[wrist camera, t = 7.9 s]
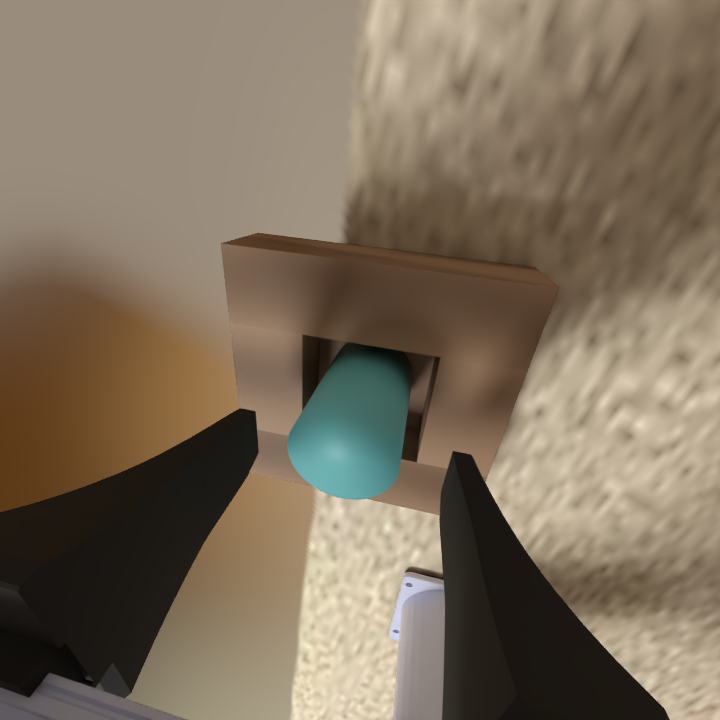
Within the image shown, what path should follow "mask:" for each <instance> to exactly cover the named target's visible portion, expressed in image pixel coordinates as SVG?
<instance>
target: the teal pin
mask: <svg viewBox="0 0 720 720" xmlns="http://www.w3.org/2000/svg"><path fill="white" fill-rule="evenodd" d="M412 378H413V371H412V366H411V363H410V361H409V359H408V357H407V356H406V354H405V353H404V352H403V351H399V350H393V349H387V348H381V347H375V346H369V345H363V344H357V343H351V342H348V343H347V344H345V345H344V346H343V347H342V348H341V349H340V351H339V352H338V354H337V355H336V357H335V359H334V360H333V362H332V364H331V365H330V367H329V368H328V370H327V372H326V373H325V375H324V377H323V378H322V380H321V382H320V383H319V385H318V386H317V388H316V390H315V391H314V393H313V395H312V396H311V398H310V400H309V401H308V403H307V405H306V406H305V408H304V409H303V411H302V413H301V414H300V416H299V418H298V419H297V421H296V423H295V424H294V426H293V427H292V429H291V431H290V433H289V436H288V441H287V449H288V454H289V458H290V460H291V463H292V464H293V466H294V468H295V469H296V471H297V472H298V473H299V474H300V475H301V477H302V478H303V479H305V480H306V481H307V482H308V483H309V484H311V485H312V486H313V487H315V488H317V489H318V490H320V491H322V492H324V493H327V494H329V495H332V496H335V497H339V498H344V499H367V498H372V497H375V496H378V495H380V494H382V493H383V492H385V491H386V490H388V489H389V488H390V487H391V486H392V485H393V484H394V482H395V481H396V479H397V477H398V474H399V470H400V463H401V456H402V449H403V442H404V435H405V428H406V421H407V414H408V407H409V400H410V393H411V386H412Z"/></svg>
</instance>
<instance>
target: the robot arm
mask: <svg viewBox="0 0 720 720" xmlns="http://www.w3.org/2000/svg"><path fill="white" fill-rule="evenodd" d="M258 453H259V447H258V434H257V422H256V411H252V410H247V409H242V408H240V409H238V410H236V411H234V412H233V413H231V414H229V415H228V416H226V417H224V418H223V419H221V420H219V421H218V422H216V423H214V424H213V425H211V426H210V427H208V428H206V429H204V430H203V431H201V432H199V433H198V434H196V435H194V436H192V437H191V438H189V439H187V440H185V441H184V442H182V443H180V444H178V445H176V446H174V447H172V448H171V449H169V450H167V451H165V452H163V453H161V454H160V455H158V456H155V457H154V458H151V459H149V460H147V461H145V462H143V463H141V464H139V465H137V466H134V467H132V468H130V469H128V470H125V471H123V472H121V473H118V474H116V475H113V476H111V477H108V478H105V479H103V480H100V481H98V482H95V483H93V484H90V485H87V486H85V487H82V488H79V489H77V490H73V491H71V492H68V493H65V494H62V495H59V496H56V497H52V498H49V499H46V500H43V501H40V502H36V503H33V504H30V505H26V506H22V507H19V508H15V509H11V510H8V511H4V512H0V720H187V719H184V718H181V717H178V716H175V715H172V714H169V713H166V712H163V711H160V710H158V709H154V708H151V707H149V706H146V705H143V704H140V703H137V702H134V701H131V700H128V699H125V698H126V697H127V696H128V695H129V694H130V693H131V692H132V689H133V687H134V685H135V683H136V680H137V678H138V676H139V674H140V672H141V669H142V667H143V665H144V663H145V660H146V658H147V656H148V654H149V652H150V649H151V647H152V645H153V642H154V640H155V638H156V636H157V634H158V632H159V630H160V628H161V626H162V624H163V622H164V619H165V617H166V615H167V613H168V611H169V609H170V607H171V605H172V603H173V601H174V599H175V597H176V595H177V593H178V591H179V589H180V587H181V585H182V583H183V581H184V579H185V577H186V575H187V573H188V571H189V570H190V568H191V566H192V564H193V562H194V560H195V558H196V557H197V554H198V553H199V551H200V549H201V547H202V545H203V543H204V542H205V540H206V539H207V537H208V535H209V534H210V532H211V531H212V529H213V528H214V526H215V525H216V523H217V522H218V520H219V519H220V517H221V516H222V514H223V513H224V511H225V510H226V508H227V507H228V505H229V503H230V502H231V501H232V499H233V497H234V496H235V494H236V493H237V491H238V490H239V488H240V487H241V485H242V484H243V482H244V481H245V479H246V477H247V476H248V474H249V472H250V470H251V468H252V466H253V464H254V462H255V460H256V458H257V455H258ZM440 536H441V550H442V564H443V578H444V580H441V579H437V578H433V577H429V576H425V575H421V574H417V573H413V572H406V573H404V576H403V579H402V583H401V587H400V591H399V595H398V598H397V602H396V606H395V610H394V614H393V618H392V621H391V625H390V629H389V637H390V638H391V639H393V640H397V641H399V647H398V659H397V672H396V685H395V697H394V710H393V720H670V719H669V717H668V715H667V713H666V711H665V709H664V708H663V707H662V706H661V705H660V704H659V703H658V702H657V701H656V700H655V699H654V698H653V697H652V696H651V695H650V694H649V693H648V692H647V691H646V690H645V689H644V688H643V687H642V686H641V685H640V684H639V683H638V682H637V681H636V680H635V679H634V678H633V677H632V676H631V675H630V674H629V673H628V672H627V671H626V670H625V669H624V668H623V667H622V666H621V665H620V664H619V663H618V662H617V661H616V660H615V659H614V658H613V656H612V655H611V654H610V653H609V652H608V651H607V650H606V649H605V648H604V647H603V646H602V645H601V643H600V642H599V641H598V640H597V639H596V638H595V637H594V636H593V635H592V634H591V632H590V631H589V630H588V629H587V628H586V627H585V626H584V625H583V623H582V622H581V621H580V620H579V619H578V618H577V616H576V615H575V614H574V613H573V612H572V610H571V609H570V608H569V607H568V606H567V604H566V603H565V602H564V601H563V600H562V598H561V597H560V596H559V595H558V594H557V592H556V591H555V590H554V589H553V587H552V586H551V585H550V583H549V582H548V581H547V580H546V578H545V577H544V576H543V574H542V573H541V572H540V570H539V569H538V567H537V566H536V565H535V563H534V562H533V561H532V559H531V558H530V556H529V555H528V553H527V552H526V551H525V549H524V548H523V546H522V545H521V543H520V542H519V540H518V539H517V537H516V535H515V534H514V532H513V531H512V529H511V527H510V526H509V524H508V523H507V521H506V519H505V518H504V516H503V514H502V512H501V511H500V509H499V507H498V505H497V503H496V502H495V500H494V498H493V496H492V494H491V493H490V491H489V489H488V487H487V485H486V483H485V481H484V479H483V477H482V475H481V473H480V471H479V469H478V467H477V464H476V462H475V460H474V458H473V456H472V455H471V454H466V453H461V452H456V451H453V452H452V455H451V459H450V462H449V466H448V469H447V472H446V476H445V479H444V483H443V486H442V490H441V498H440Z"/></svg>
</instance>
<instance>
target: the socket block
mask: <svg viewBox="0 0 720 720" xmlns="http://www.w3.org/2000/svg"><path fill="white" fill-rule="evenodd" d="M221 249H222V258H223V267H224V276H225V285H226V294H227V302H228V312H229V321H230V329H231V339H232V348H233V357H234V366H235V375H236V384H237V393H238V402H239V409H240V408H242V409H247V410H252V411H256V422H257V434H258V447H259V453H258V455H257V458H256V460H255V462H254V464H253V466H252V468H251V470H250V473H255V474H260V475H264V476H268V477H273V478H277V479H282V480H286V481H290V482H295V483H299V484H304V485H308V486H312V485H311V484H309V483H308V482H307V481H306V480H305V479H303V478H302V477H301V475H300V474H299V473H298V472H297V471H296V469H295V468H294V466H293V464H292V463H291V460H290V458H289V454H288V449H287V441H288V436H289V433H290V431H291V429H292V427H293V426H294V424H295V423H296V421H297V419H298V418H299V416H300V414H301V413H302V411H303V409H304V408H305V406H306V405H307V403H308V401H309V400H310V398H311V396H312V395H313V393H314V391H315V390H316V388H317V386H318V385H319V383H320V382H321V380H322V378H323V377H324V375H325V373H326V372H327V370H328V368H329V367H330V365H331V364H332V362H333V360H334V359H335V357H336V355H337V354H338V352H339V351H340V349H341V348H342V347H343V346H344V345H345V344H347V343H348V342H351V343H357V344H363V345H369V346H375V347H381V348H387V349H393V350H399V351H403V352H404V353H405V354H406V356H407V357H408V359H409V361H410V363H411V366H412V371H413V378H412V386H411V393H410V400H409V407H408V414H407V421H406V428H405V435H404V442H403V449H402V456H401V463H400V470H399V474H398V477H397V479H396V481H395V482H394V484H393V485H392V486H391V487H390V488H389V489H388V490H386V491H385V492H383V493H382V494H380V495H378V496H375V497H372V498H367V499H370V500H374V501H379V502H383V503H388V504H392V505H397V506H401V507H406V508H410V509H414V510H419V511H423V512H428V513H432V514H437V515H440V498H441V490H442V486H443V483H444V479H445V476H446V472H447V469H448V466H449V462H450V459H451V455H452V452H453V451H456V452H461V453H466V454H471V455H472V456H473V458H474V460H475V462H476V464H477V467H478V469H479V471H480V473H481V475H482V477H483V479H484V481H486V479H487V476H488V473H489V471H490V468H491V466H492V463H493V460H494V458H495V455H496V452H497V450H498V447H499V445H500V442H501V439H502V437H503V434H504V431H505V429H506V426H507V423H508V421H509V418H510V416H511V413H512V410H513V408H514V405H515V402H516V400H517V397H518V395H519V392H520V389H521V387H522V384H523V381H524V379H525V376H526V373H527V371H528V368H529V366H530V363H531V360H532V358H533V355H534V352H535V350H536V347H537V345H538V342H539V339H540V337H541V334H542V331H543V329H544V326H545V324H546V321H547V318H548V316H549V313H550V310H551V308H552V305H553V302H554V300H555V297H556V295H557V292H558V289H559V288H558V287H557V286H556V285H555V284H554V283H553V282H551V281H550V280H549V279H548V278H547V277H546V276H544V275H543V274H542V273H541V272H540V271H539V270H537V269H536V268H534V267H526V266H518V265H510V264H502V263H494V262H486V261H478V260H470V259H462V258H454V257H446V256H438V255H430V254H422V253H414V252H406V251H398V250H390V249H382V248H374V247H366V246H358V245H350V244H342V243H333V242H326V241H318V240H309V239H302V238H294V237H286V236H278V235H270V234H262V233H256V234H252V235H249V236H245V237H242V238H238V239H235V240H231V241H228V242H225V243H221Z"/></svg>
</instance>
